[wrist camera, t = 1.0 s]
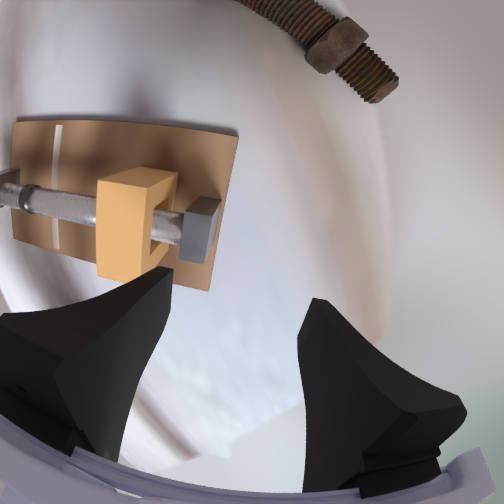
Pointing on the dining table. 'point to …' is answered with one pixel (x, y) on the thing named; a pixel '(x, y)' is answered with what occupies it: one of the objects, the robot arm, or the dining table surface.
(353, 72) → the bolt
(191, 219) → the rail
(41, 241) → the board
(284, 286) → the dining table surface
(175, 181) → the collar
